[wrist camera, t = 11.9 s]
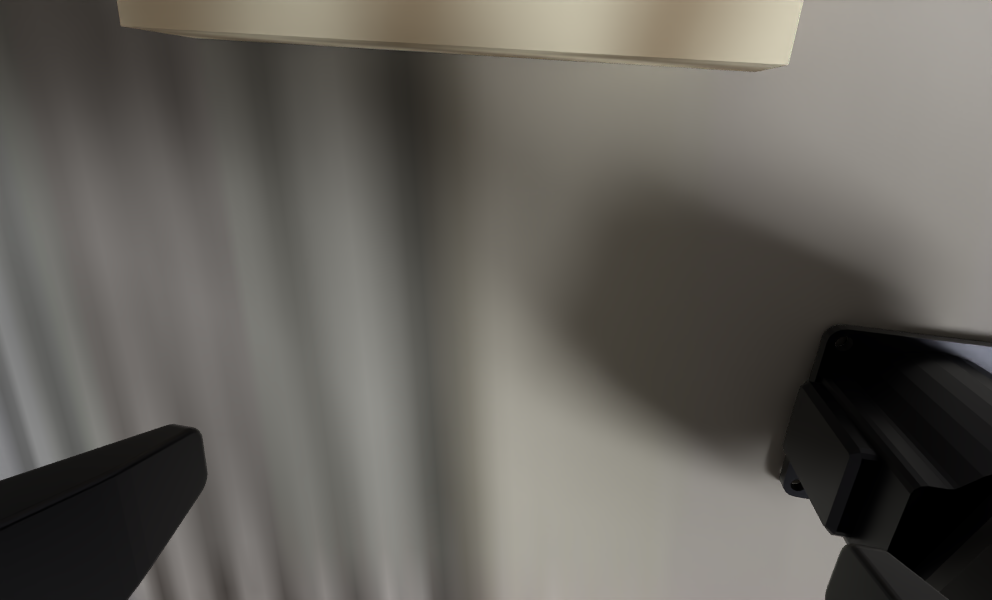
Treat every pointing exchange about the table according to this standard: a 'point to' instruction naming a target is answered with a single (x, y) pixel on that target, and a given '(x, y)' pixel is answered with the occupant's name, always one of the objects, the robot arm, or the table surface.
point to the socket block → (501, 27)
